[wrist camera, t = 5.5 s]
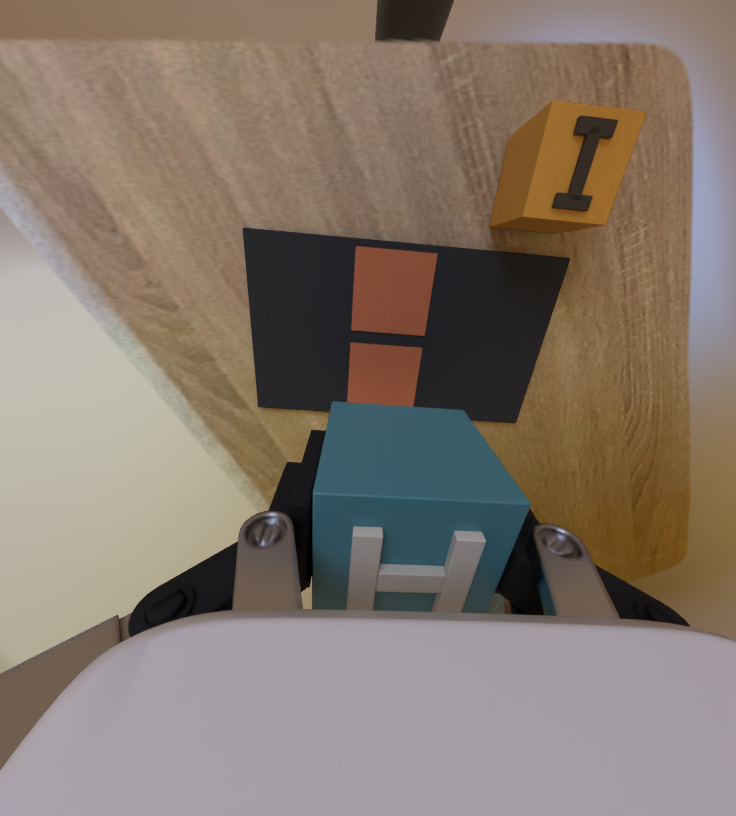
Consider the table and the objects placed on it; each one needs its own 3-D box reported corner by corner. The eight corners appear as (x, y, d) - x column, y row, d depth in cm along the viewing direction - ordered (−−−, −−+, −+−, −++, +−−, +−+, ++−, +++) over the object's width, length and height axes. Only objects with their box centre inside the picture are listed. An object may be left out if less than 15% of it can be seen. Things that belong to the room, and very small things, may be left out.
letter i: (508, 138, 19) (556, 96, 15) (581, 146, 20) (652, 108, 15) (488, 227, 22) (525, 216, 17) (555, 233, 22) (609, 224, 17)
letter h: (331, 400, 11) (310, 503, 6) (463, 409, 11) (539, 513, 7) (328, 503, 13) (310, 639, 8) (439, 508, 13) (483, 642, 9)
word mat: (244, 228, 21) (241, 227, 21) (567, 258, 23) (571, 258, 22) (259, 405, 27) (257, 407, 27) (513, 421, 29) (516, 423, 28)
